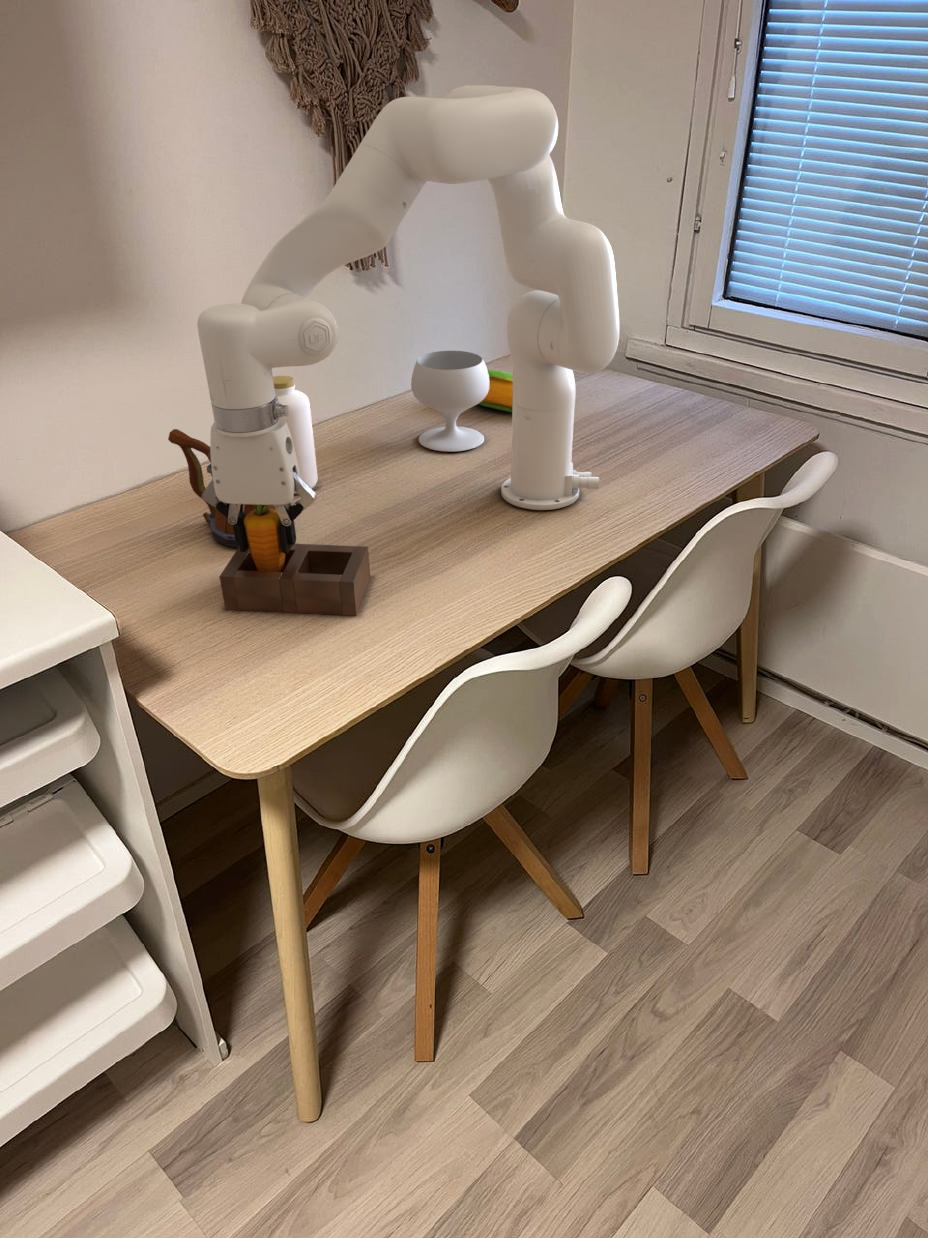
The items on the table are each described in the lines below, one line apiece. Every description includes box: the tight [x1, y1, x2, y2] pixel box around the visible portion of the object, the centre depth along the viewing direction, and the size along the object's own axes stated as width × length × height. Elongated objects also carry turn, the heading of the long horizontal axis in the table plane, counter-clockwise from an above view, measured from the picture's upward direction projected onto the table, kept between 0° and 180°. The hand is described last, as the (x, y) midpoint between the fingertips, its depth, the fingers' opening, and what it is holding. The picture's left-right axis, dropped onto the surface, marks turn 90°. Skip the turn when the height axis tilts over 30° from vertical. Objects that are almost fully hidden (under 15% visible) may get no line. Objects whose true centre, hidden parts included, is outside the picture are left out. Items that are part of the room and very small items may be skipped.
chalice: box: [410, 350, 490, 452], centre depth 162 cm, size 14×14×15 cm
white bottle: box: [273, 375, 319, 495], centre depth 145 cm, size 8×8×18 cm
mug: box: [167, 428, 276, 549], centre depth 133 cm, size 18×12×15 cm, turn 63°
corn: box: [477, 368, 513, 413], centre depth 178 cm, size 7×8×20 cm
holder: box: [219, 543, 371, 617], centre depth 119 cm, size 17×10×5 cm, turn 84°
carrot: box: [244, 505, 285, 572], centre depth 117 cm, size 5×5×15 cm
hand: (267, 546), depth 117 cm, fingers closed on carrot, 4 cm apart
